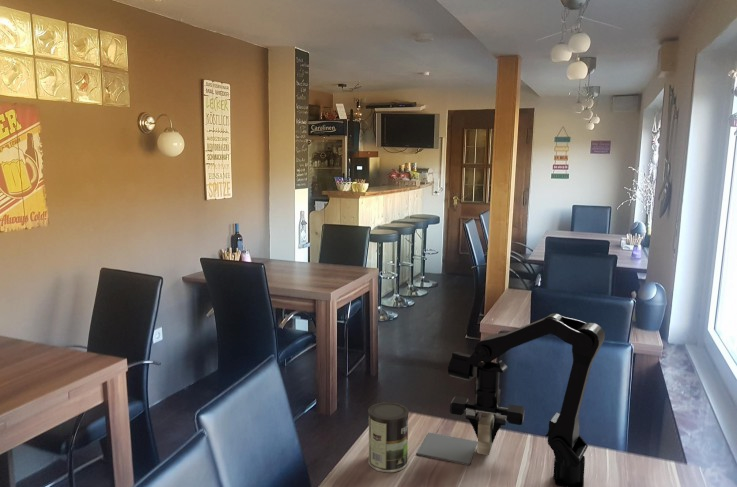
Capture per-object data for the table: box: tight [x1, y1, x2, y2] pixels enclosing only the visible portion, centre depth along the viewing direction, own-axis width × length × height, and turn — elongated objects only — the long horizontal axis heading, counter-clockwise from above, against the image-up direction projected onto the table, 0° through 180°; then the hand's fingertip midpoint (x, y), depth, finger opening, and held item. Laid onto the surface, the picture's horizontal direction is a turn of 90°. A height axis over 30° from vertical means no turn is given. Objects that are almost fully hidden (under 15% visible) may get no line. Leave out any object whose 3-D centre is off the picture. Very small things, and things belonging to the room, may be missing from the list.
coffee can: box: [367, 401, 410, 473], centre depth 139 cm, size 10×10×14 cm
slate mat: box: [416, 431, 478, 466], centre depth 146 cm, size 14×12×1 cm
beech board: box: [476, 412, 495, 456], centre depth 143 cm, size 3×7×8 cm, turn 159°
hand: (485, 440), depth 143 cm, fingers closed on beech board, 3 cm apart
